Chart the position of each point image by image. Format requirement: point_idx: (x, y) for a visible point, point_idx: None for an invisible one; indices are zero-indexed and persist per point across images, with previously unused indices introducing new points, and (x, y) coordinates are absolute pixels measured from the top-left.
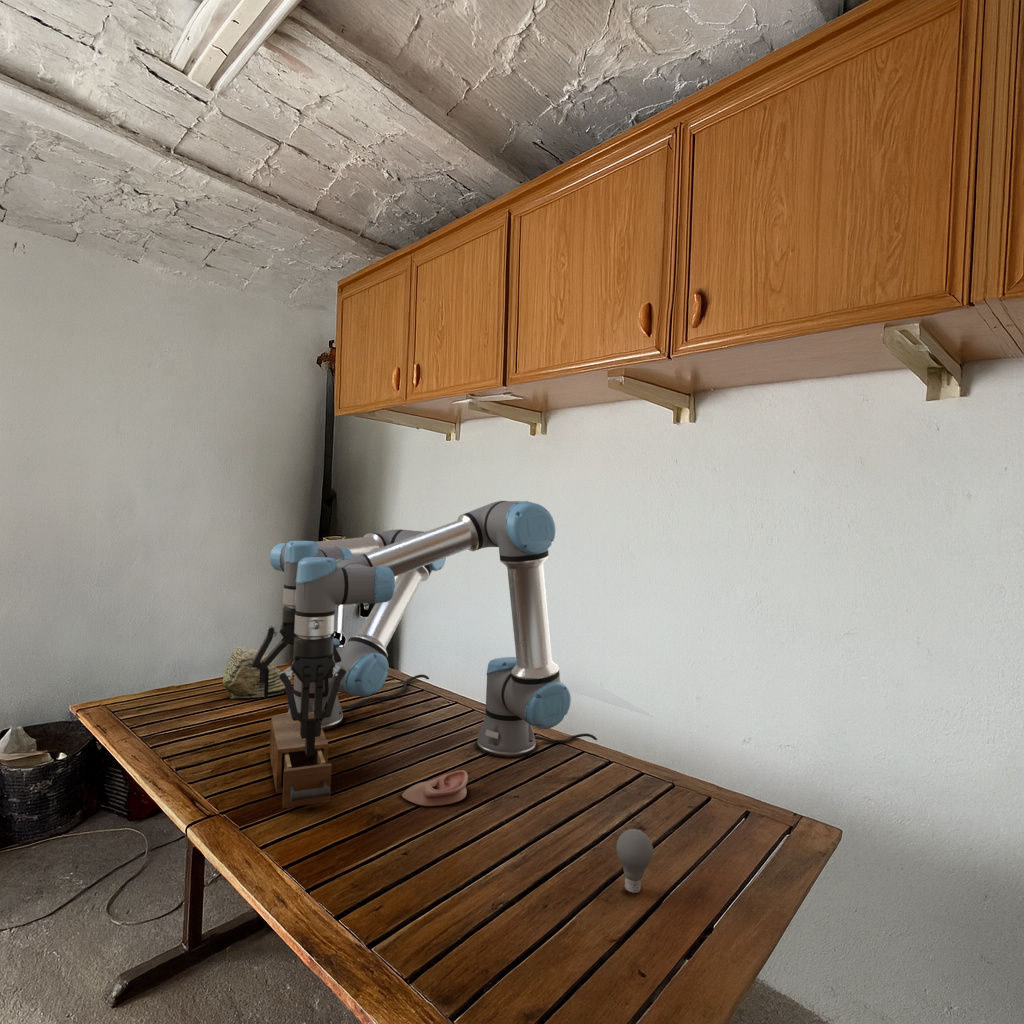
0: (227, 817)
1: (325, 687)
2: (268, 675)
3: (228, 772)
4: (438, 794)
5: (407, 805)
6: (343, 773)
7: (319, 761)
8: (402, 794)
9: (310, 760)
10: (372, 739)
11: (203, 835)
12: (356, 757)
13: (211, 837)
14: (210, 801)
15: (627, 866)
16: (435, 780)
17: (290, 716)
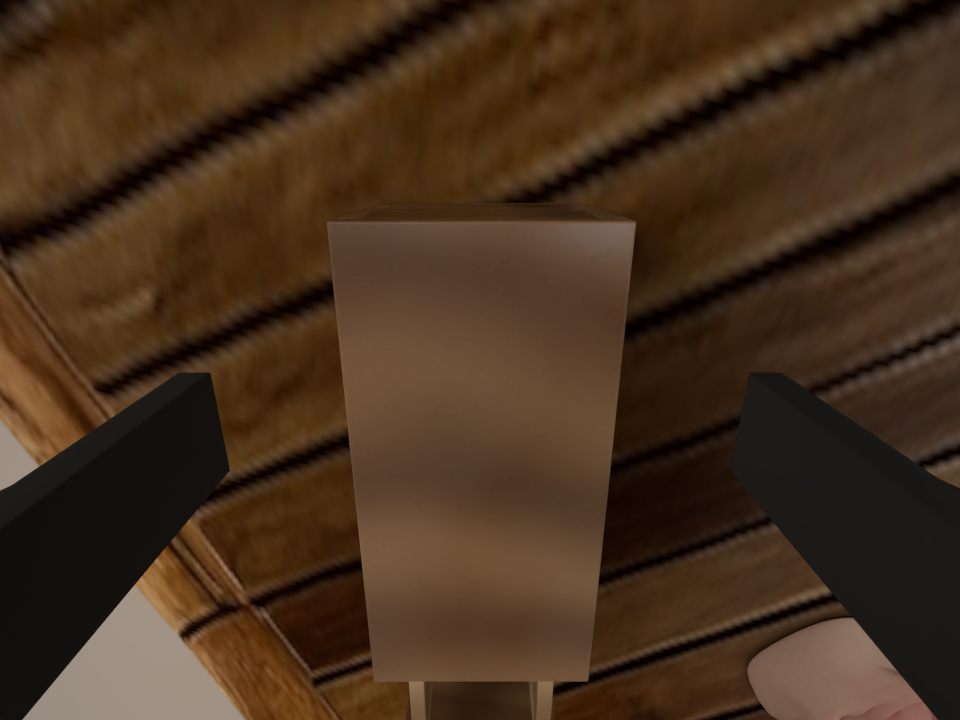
0: (274, 627)
1: (763, 501)
2: (75, 654)
3: (224, 340)
4: None
5: (740, 694)
6: (637, 472)
7: (534, 691)
8: (752, 665)
9: None
10: (890, 156)
11: (230, 683)
12: (732, 350)
13: (251, 695)
14: (208, 535)
15: None
16: (871, 704)
17: (455, 273)
